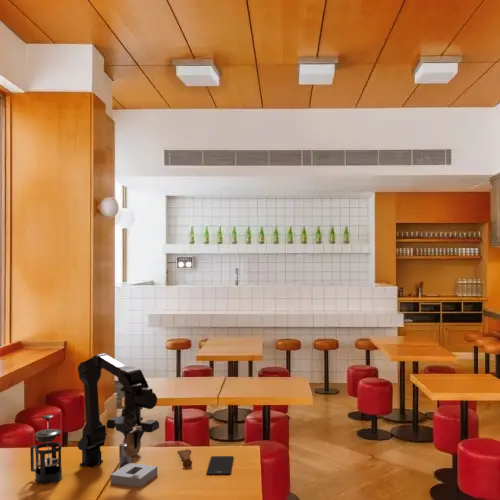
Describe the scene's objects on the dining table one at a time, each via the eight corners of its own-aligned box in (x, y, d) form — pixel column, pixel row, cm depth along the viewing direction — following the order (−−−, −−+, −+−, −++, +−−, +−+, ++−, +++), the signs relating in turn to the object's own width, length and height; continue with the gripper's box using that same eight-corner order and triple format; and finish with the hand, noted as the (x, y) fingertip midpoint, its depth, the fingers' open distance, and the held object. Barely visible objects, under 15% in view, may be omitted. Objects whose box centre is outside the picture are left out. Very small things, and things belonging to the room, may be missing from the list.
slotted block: (110, 483, 204) (110, 474, 204) (129, 470, 216) (128, 462, 216) (140, 487, 200) (140, 478, 200) (157, 474, 212) (157, 466, 212)
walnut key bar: (126, 456, 206) (126, 433, 206) (134, 451, 210) (134, 429, 210) (131, 457, 205) (131, 434, 205) (139, 452, 210) (138, 430, 210)
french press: (68, 474, 213) (67, 412, 213) (56, 485, 204) (55, 419, 204) (38, 473, 214) (37, 411, 214) (25, 484, 205) (24, 419, 205)
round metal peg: (117, 467, 220) (116, 446, 220) (123, 463, 224) (123, 442, 224) (127, 468, 218) (127, 447, 218) (133, 464, 222) (133, 443, 222)
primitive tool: (177, 452, 236) (177, 443, 236) (190, 451, 238) (190, 442, 238) (182, 469, 218) (182, 460, 218) (197, 468, 219) (197, 458, 219)
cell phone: (206, 476, 210) (206, 473, 210) (211, 458, 228) (211, 456, 228) (230, 476, 210) (230, 473, 210) (233, 458, 228) (233, 455, 228)
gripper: (97, 408, 204) (97, 452, 204) (143, 412, 197) (144, 458, 197) (115, 400, 214) (115, 442, 214) (159, 404, 208) (160, 448, 208)
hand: (133, 448), depth 208 cm, fingers closed on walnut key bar, 2 cm apart
